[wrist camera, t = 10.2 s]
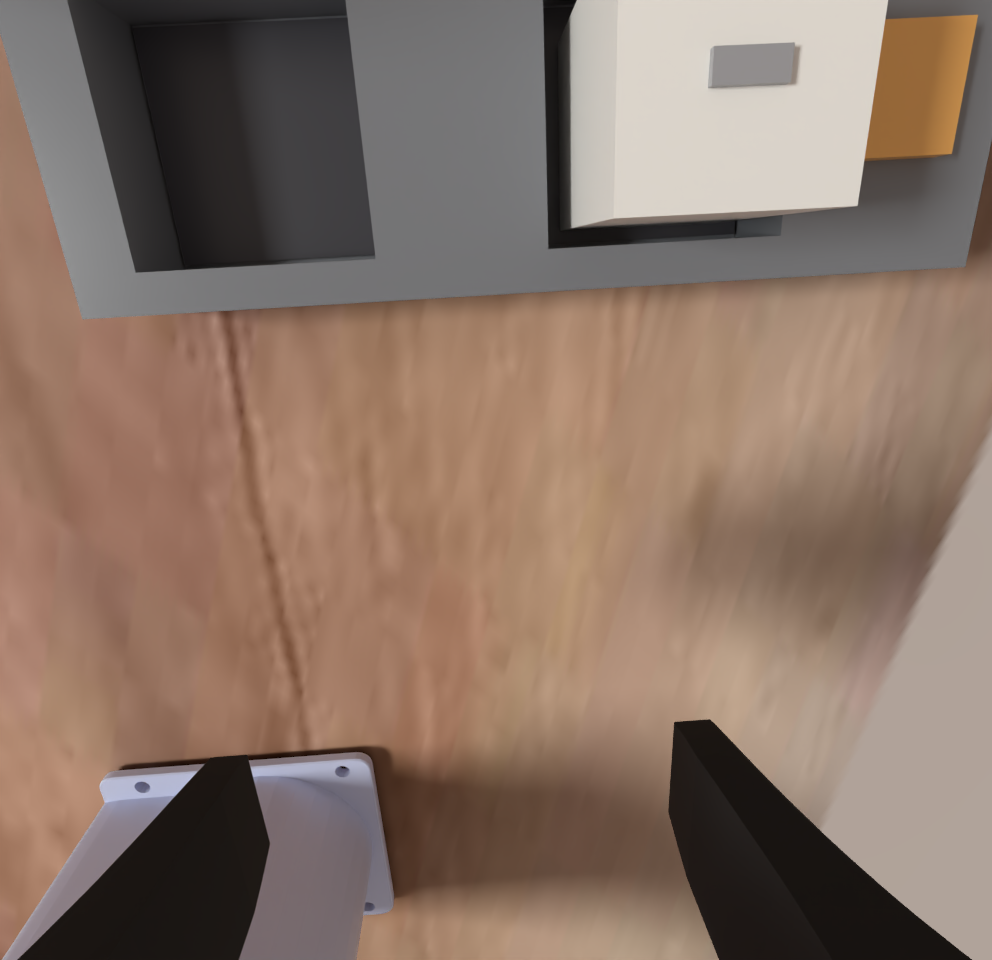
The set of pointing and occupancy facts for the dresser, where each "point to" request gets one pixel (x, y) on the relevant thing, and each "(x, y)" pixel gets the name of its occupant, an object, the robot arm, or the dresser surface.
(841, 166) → the block
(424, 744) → the dresser surface
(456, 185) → the power strip
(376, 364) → the dresser surface
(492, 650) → the dresser surface
